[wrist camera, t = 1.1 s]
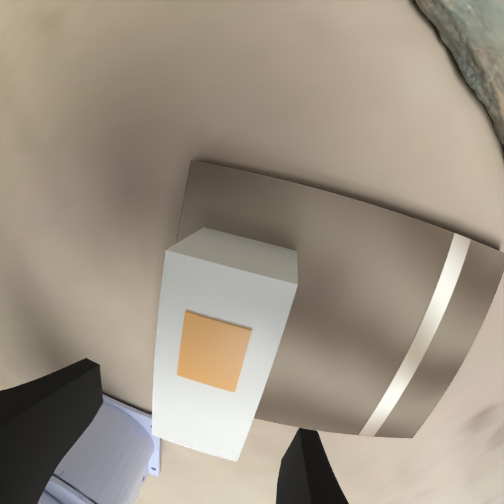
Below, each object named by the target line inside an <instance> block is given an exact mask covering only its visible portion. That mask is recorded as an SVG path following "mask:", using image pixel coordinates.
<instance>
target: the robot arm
mask: <svg viewBox="0 0 504 504" xmlns="http://www.w3.org/2000/svg"><path fill="white" fill-rule="evenodd" d="M160 447H161V438H159V437H156V436H154V435H152V415H150V414H147V413H145V412H142V411H140V410H137V409H135V408H133V407H130V406H128V405H126V404H123V403H121V402H119V401H117V400H114V399H112V398H110V397H108V396H106V395H104V394H102V386H101V376H100V365H99V364H97V363H95V362H93V361H91V360H89V359H87V358H86V359H83V360H81V361H78V362H76V363H74V364H72V365H69V366H67V367H65V368H63V369H60V370H58V371H56V372H53V373H51V374H49V375H46V376H44V377H41V378H39V379H36V380H34V381H31V382H28V383H25V384H22V385H19V386H16V387H13V388H10V389H6V390H2V391H0V504H133V503H134V501H135V499H136V497H137V495H138V493H139V491H140V489H141V487H142V485H143V483H144V481H145V479H146V477H147V475H148V473H149V474H152V475H154V476H159V474H160ZM276 504H349V503H348V501H347V499H346V497H345V496H344V494H343V492H342V490H341V488H340V486H339V484H338V481H337V479H336V477H335V475H334V473H333V471H332V468H331V466H330V463H329V461H328V458H327V456H326V453H325V451H324V448H323V445H322V443H321V440H320V437H319V434H318V432H317V431H315V430H309V429H303V428H299V429H298V431H297V433H296V435H295V437H294V439H293V440H292V442H291V444H290V446H289V448H288V449H287V451H286V453H285V455H284V456H283V458H282V460H281V466H280V471H279V477H278V482H277V496H276Z"/></svg>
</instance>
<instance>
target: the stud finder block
mask: <svg viewBox="0 0 504 504" xmlns="http://www.w3.org/2000/svg"><path fill="white" fill-rule="evenodd" d="M297 286H298V270H297V251H295V250H292V249H288V248H284V247H280V246H276V245H272V244H268V243H264V242H260V241H256V240H252V239H249V238H245V237H241V236H237V235H233V234H229V233H225V232H221V231H217V230H213V229H209V228H205V227H203V228H202V229H200V230H198V231H197V232H195V233H193V234H191V235H190V236H188V237H186V238H185V239H183V240H181V241H180V242H178V243H176V244H175V245H173V246H171V247H170V248H168V249H166V252H165V260H164V267H163V275H162V283H161V291H160V300H159V310H158V320H157V332H156V344H155V358H154V375H153V398H152V435H154V436H156V437H159V438H161V439H164V440H167V441H170V442H173V443H175V444H178V445H181V446H184V447H187V448H190V449H193V450H197V451H200V452H203V453H207V454H210V455H214V456H217V457H221V458H225V459H229V460H233V461H237V460H238V458H239V455H240V452H241V450H242V447H243V445H244V442H245V440H246V437H247V434H248V432H249V429H250V426H251V424H252V421H253V418H254V416H255V413H256V410H257V407H258V405H259V402H260V399H261V396H262V393H263V391H264V388H265V385H266V382H267V379H268V376H269V373H270V371H271V368H272V365H273V362H274V359H275V356H276V353H277V350H278V347H279V344H280V341H281V337H282V334H283V331H284V328H285V325H286V322H287V319H288V315H289V312H290V309H291V306H292V303H293V299H294V296H295V293H296V289H297Z"/></svg>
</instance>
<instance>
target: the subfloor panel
mask: <svg viewBox="0 0 504 504" xmlns="http://www.w3.org/2000/svg"><path fill="white" fill-rule="evenodd" d="M203 227H205V228H209V229H213V230H217V231H221V232H225V233H229V234H233V235H237V236H241V237H245V238H249V239H252V240H256V241H260V242H264V243H268V244H272V245H276V246H280V247H284V248H288V249H292V250H295V251H297V270H298V286H297V289H296V293H295V296H294V299H293V303H292V306H291V309H290V312H289V315H288V319H287V322H286V325H285V328H284V331H283V334H282V337H281V341H280V344H279V347H278V350H277V353H276V356H275V359H274V362H273V365H272V368H271V371H270V373H269V376H268V379H267V382H266V385H265V388H264V391H263V393H262V396H261V399H260V402H259V405H258V407H257V410H256V413H255V416H254V418H256V419H261V420H265V421H270V422H274V423H279V424H284V425H289V426H295V427H301V428H306V429H313V430H319V431H326V432H334V433H342V434H351V435H358V436H366V437H392V438H413V437H414V435H415V434H416V433H417V431H418V430H419V429H420V428H421V426H422V425H423V423H424V422H425V421H426V419H427V418H428V417H429V415H430V414H431V412H432V411H433V409H434V408H435V407H436V405H437V404H438V402H439V401H440V399H441V398H442V396H443V395H444V393H445V391H446V390H447V388H448V387H449V385H450V383H451V382H452V380H453V378H454V377H455V375H456V373H457V372H458V370H459V368H460V366H461V365H462V363H463V361H464V359H465V357H466V356H467V354H468V352H469V350H470V348H471V346H472V344H473V342H474V340H475V338H476V336H477V334H478V332H479V330H480V328H481V326H482V324H483V321H484V319H485V317H486V315H487V312H488V310H489V308H490V305H491V303H492V301H493V298H494V296H495V293H496V291H497V288H498V285H499V283H500V280H501V277H502V274H503V271H504V253H503V252H501V251H499V250H496V249H494V248H492V247H489V246H487V245H484V244H482V243H480V242H477V241H475V240H472V239H470V238H467V237H465V236H462V235H459V234H457V233H454V232H452V231H449V230H446V229H444V228H441V227H438V226H435V225H433V224H430V223H427V222H424V221H421V220H419V219H416V218H413V217H410V216H407V215H404V214H401V213H398V212H395V211H392V210H389V209H386V208H383V207H379V206H376V205H373V204H370V203H367V202H363V201H360V200H357V199H353V198H350V197H346V196H343V195H339V194H336V193H332V192H329V191H325V190H322V189H318V188H314V187H310V186H307V185H303V184H299V183H295V182H291V181H287V180H283V179H279V178H275V177H271V176H266V175H262V174H258V173H253V172H249V171H244V170H240V169H235V168H230V167H226V166H221V165H216V164H211V163H205V162H200V161H194V160H192V161H191V165H190V170H189V175H188V180H187V185H186V190H185V195H184V201H183V206H182V212H181V217H180V223H179V229H178V235H177V241H176V243H178V242H180V241H181V240H183V239H185V238H186V237H188V236H190V235H191V234H193V233H195V232H197V231H198V230H200V229H202V228H203Z"/></svg>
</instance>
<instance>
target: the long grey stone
mask: <svg viewBox="0 0 504 504" xmlns="http://www.w3.org/2000/svg"><path fill="white" fill-rule="evenodd" d="M415 2H416V3H417V5H418V7H419V8H420V10H421V11H422V12H423V13H424V14H425V15H426V16H427V18H428V19H429V20H430V21H431V22H432V23H433V24H434V25H435V26H436V28H437V30H438V31H439V34H440V37H441V39H442V41H443V42H444V44H445V45H446V46H447V47H448V48H449V50H450V51H451V52H452V54H453V57H454V58H455V60H456V62H457V64H458V66H459V68H460V70H461V72H462V74H463V76H464V78H465V81H466V82H467V83H468V84H469V86H470V88H471V89H473V90H474V91H475V93H476V97H477V98H478V99H479V100H480V101H481V102H482V103H483V104H484V105H485V106H486V110H487V112H488V114H489V116H490V117H491V119H492V120H493V122H494V125H493V129H494V131H495V132H496V134H497V135H498V138H499V140H500V141H501V143H502V144H503V146H504V0H415Z"/></svg>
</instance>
